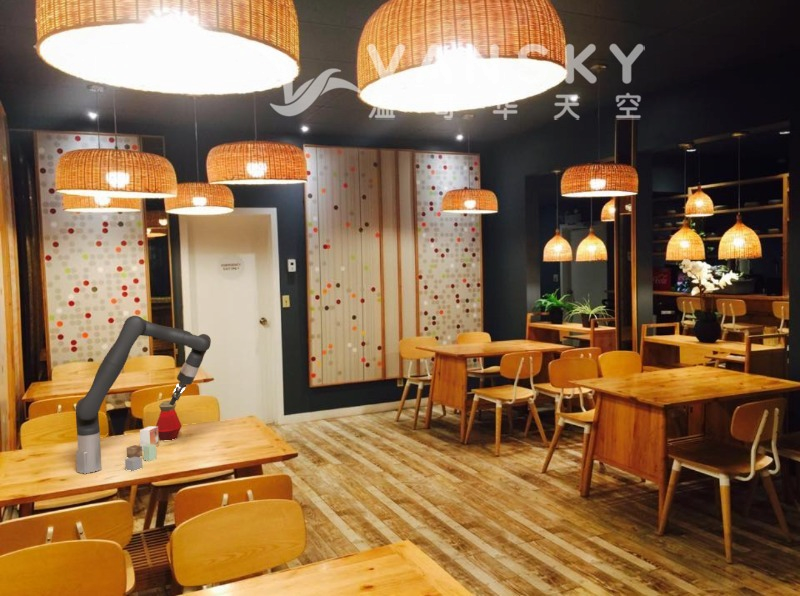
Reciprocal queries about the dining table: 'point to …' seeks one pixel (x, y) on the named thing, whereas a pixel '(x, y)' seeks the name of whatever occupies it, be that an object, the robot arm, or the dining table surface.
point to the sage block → (149, 452)
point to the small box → (149, 436)
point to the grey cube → (133, 463)
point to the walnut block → (134, 451)
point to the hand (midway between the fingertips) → (173, 402)
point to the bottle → (168, 422)
